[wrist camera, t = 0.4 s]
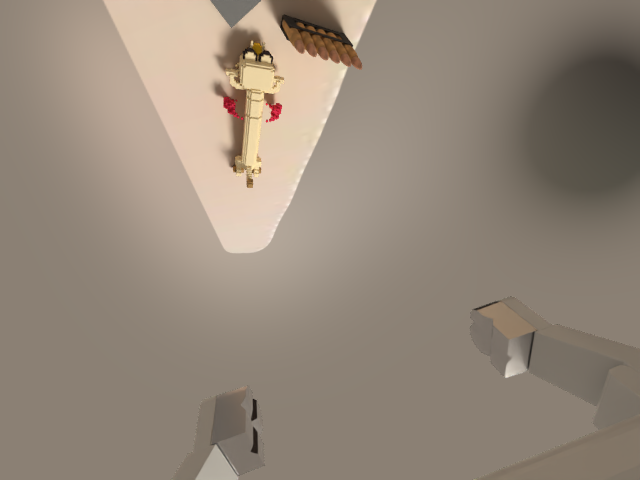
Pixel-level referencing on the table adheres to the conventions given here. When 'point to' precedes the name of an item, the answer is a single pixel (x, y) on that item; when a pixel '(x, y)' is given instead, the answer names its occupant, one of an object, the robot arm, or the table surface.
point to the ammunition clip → (319, 41)
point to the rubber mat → (234, 9)
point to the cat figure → (253, 103)
